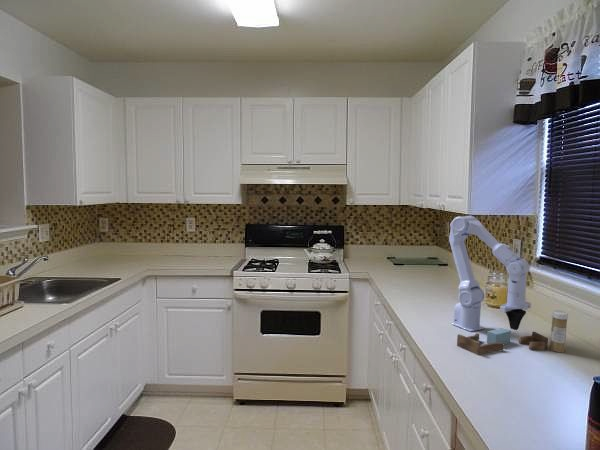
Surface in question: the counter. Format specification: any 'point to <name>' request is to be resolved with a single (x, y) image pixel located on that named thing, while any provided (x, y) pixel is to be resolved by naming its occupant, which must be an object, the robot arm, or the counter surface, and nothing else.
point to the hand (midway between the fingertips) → (514, 329)
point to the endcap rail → (477, 344)
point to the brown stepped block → (534, 341)
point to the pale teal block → (499, 336)
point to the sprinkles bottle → (558, 330)
